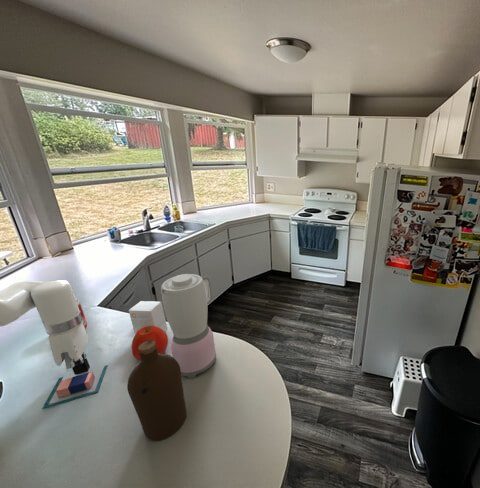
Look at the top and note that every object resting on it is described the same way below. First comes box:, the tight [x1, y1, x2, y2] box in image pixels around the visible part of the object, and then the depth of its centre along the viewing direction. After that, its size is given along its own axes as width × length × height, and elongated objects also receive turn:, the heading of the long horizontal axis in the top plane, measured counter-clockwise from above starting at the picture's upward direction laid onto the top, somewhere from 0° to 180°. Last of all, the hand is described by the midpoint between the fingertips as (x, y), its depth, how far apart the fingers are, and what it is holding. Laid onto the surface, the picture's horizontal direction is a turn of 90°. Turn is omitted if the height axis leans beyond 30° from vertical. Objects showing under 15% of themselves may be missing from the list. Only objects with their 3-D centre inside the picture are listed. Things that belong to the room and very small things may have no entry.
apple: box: [131, 325, 169, 362], centre depth 85 cm, size 10×10×10 cm
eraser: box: [55, 371, 95, 398], centre depth 73 cm, size 7×4×3 cm, turn 118°
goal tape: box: [41, 364, 108, 410], centre depth 74 cm, size 12×11×1 cm
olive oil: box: [126, 341, 187, 442], centre depth 61 cm, size 11×11×25 cm
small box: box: [128, 300, 168, 335], centre depth 93 cm, size 8×6×13 cm
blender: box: [160, 273, 217, 379], centre depth 79 cm, size 16×12×32 cm
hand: (82, 371), depth 78 cm, fingers closed
